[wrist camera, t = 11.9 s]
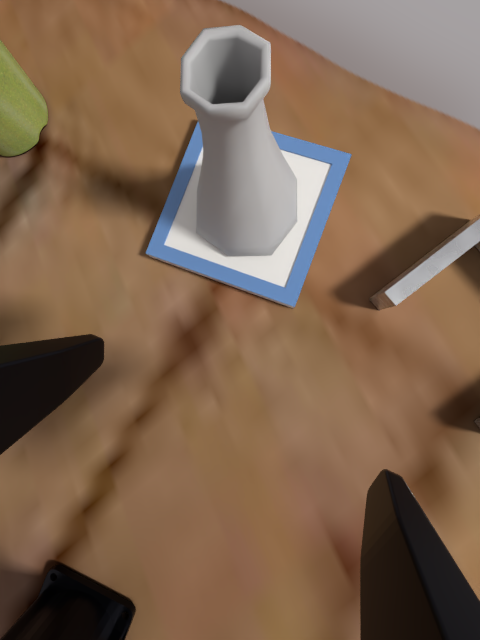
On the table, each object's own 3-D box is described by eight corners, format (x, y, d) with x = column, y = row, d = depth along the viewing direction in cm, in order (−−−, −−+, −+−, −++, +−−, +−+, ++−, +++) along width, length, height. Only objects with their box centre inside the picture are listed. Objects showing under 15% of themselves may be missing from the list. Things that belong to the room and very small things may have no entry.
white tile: (150, 257, 20) (145, 253, 20) (204, 121, 21) (201, 111, 20) (293, 308, 19) (294, 307, 18) (347, 162, 20) (351, 154, 19)
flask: (180, 242, 19) (91, 140, 10) (214, 147, 20) (162, -48, 10) (279, 273, 19) (294, 196, 9) (313, 173, 19) (365, -11, 9)
